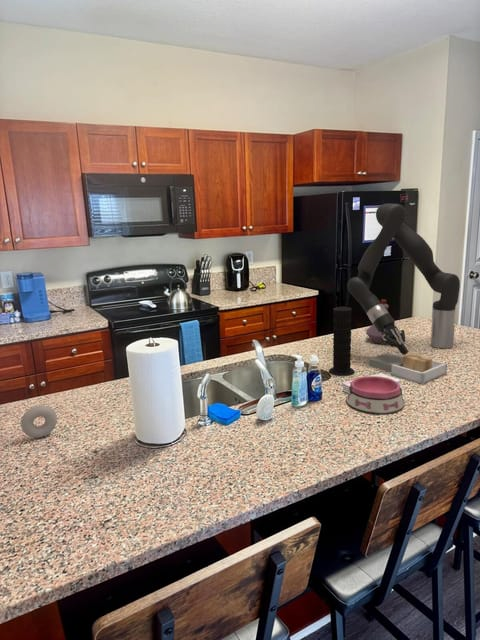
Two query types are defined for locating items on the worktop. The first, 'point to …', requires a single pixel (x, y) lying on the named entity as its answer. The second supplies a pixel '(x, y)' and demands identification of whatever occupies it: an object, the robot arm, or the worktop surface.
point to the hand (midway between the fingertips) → (405, 353)
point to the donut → (32, 415)
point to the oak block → (417, 362)
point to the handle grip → (342, 342)
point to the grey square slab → (386, 361)
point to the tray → (420, 377)
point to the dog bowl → (375, 395)
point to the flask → (372, 330)
